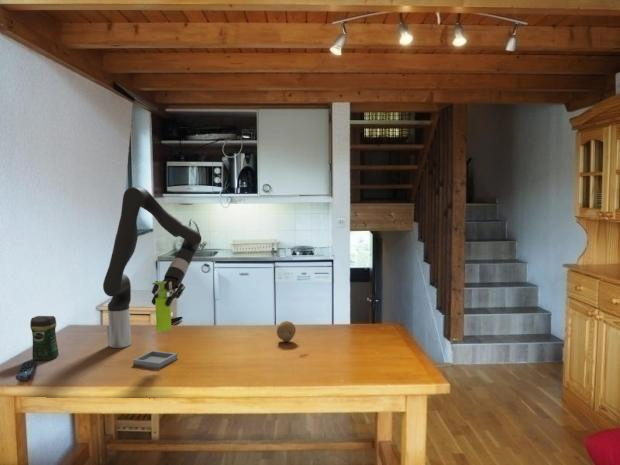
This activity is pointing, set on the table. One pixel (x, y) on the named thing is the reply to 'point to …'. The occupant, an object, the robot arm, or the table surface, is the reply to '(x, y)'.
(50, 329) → the coffee jar
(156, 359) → the tray
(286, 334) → the natural sponge
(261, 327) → the table surface
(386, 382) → the table surface
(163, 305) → the soap dispenser
